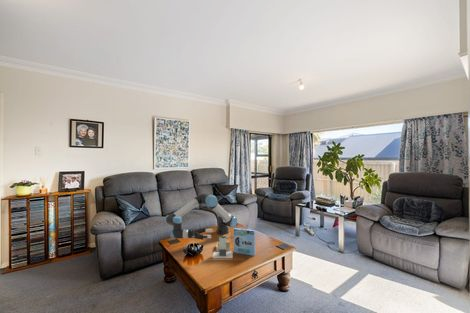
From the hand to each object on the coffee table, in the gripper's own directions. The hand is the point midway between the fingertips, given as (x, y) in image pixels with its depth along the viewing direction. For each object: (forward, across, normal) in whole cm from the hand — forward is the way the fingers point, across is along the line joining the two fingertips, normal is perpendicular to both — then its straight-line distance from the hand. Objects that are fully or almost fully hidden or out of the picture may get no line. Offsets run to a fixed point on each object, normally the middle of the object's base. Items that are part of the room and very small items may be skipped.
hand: (211, 233), depth 188 cm
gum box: (+30, -4, -21) cm, 37 cm away
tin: (+10, 0, -20) cm, 22 cm away
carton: (+10, -13, -21) cm, 26 cm away
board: (+10, 0, -21) cm, 23 cm away
